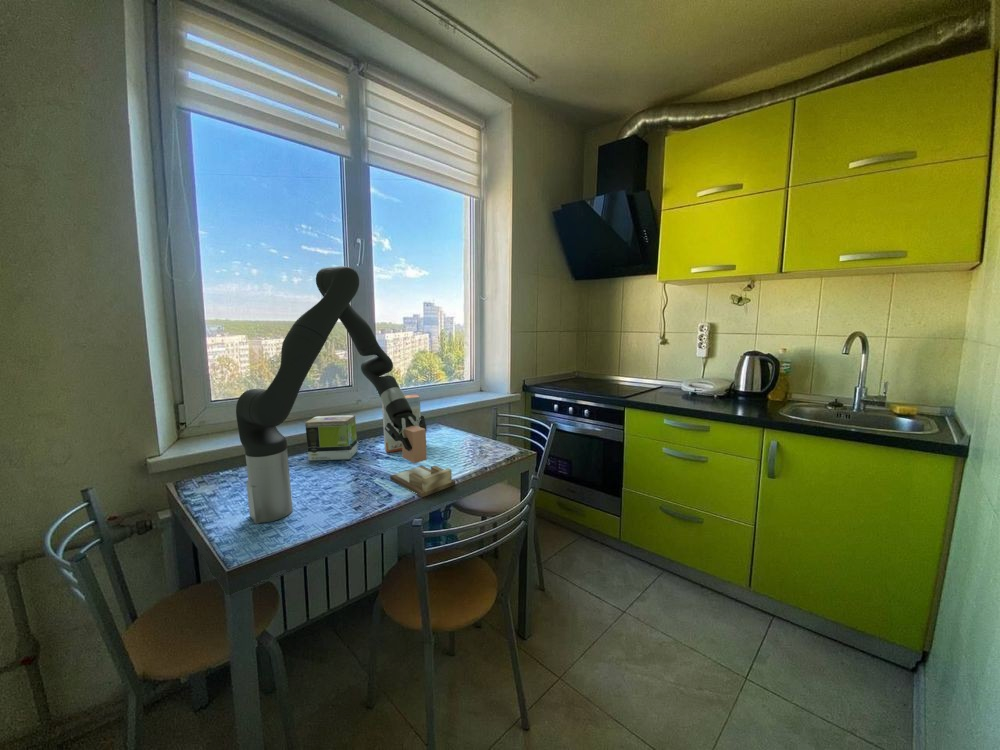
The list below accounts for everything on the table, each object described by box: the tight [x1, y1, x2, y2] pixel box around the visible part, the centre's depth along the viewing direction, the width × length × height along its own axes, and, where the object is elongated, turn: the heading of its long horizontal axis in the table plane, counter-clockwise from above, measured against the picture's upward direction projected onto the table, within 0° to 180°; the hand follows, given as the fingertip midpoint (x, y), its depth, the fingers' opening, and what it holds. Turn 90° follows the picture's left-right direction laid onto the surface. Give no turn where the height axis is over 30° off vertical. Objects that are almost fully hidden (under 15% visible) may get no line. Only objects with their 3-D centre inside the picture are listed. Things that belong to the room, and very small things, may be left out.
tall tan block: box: [401, 426, 428, 464], centre depth 122 cm, size 4×7×10 cm, turn 45°
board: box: [389, 465, 456, 498], centre depth 120 cm, size 12×18×5 cm, turn 45°
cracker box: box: [381, 394, 422, 453], centre depth 151 cm, size 14×6×21 cm, turn 114°
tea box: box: [304, 414, 358, 461], centre depth 143 cm, size 15×10×15 cm, turn 94°
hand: (417, 447), depth 121 cm, fingers closed on tall tan block, 4 cm apart
